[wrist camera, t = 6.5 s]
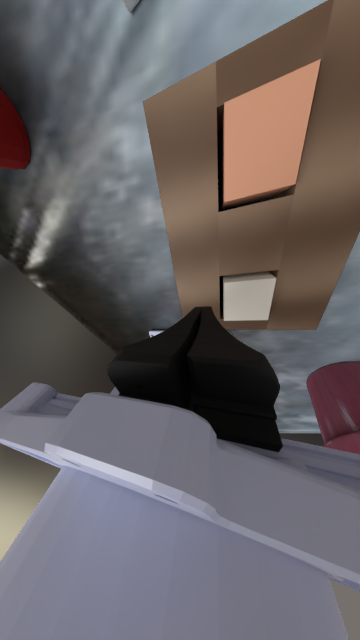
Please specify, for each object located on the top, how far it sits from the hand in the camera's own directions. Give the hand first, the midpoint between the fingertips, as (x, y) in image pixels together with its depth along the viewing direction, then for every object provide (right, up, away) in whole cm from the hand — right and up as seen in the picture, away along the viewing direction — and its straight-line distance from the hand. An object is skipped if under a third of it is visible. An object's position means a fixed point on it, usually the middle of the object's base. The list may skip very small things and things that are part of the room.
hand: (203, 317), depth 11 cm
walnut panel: (+5, +8, +4) cm, 10 cm away
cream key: (+5, +3, +5) cm, 8 cm away
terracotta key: (+4, +12, 0) cm, 12 cm away
